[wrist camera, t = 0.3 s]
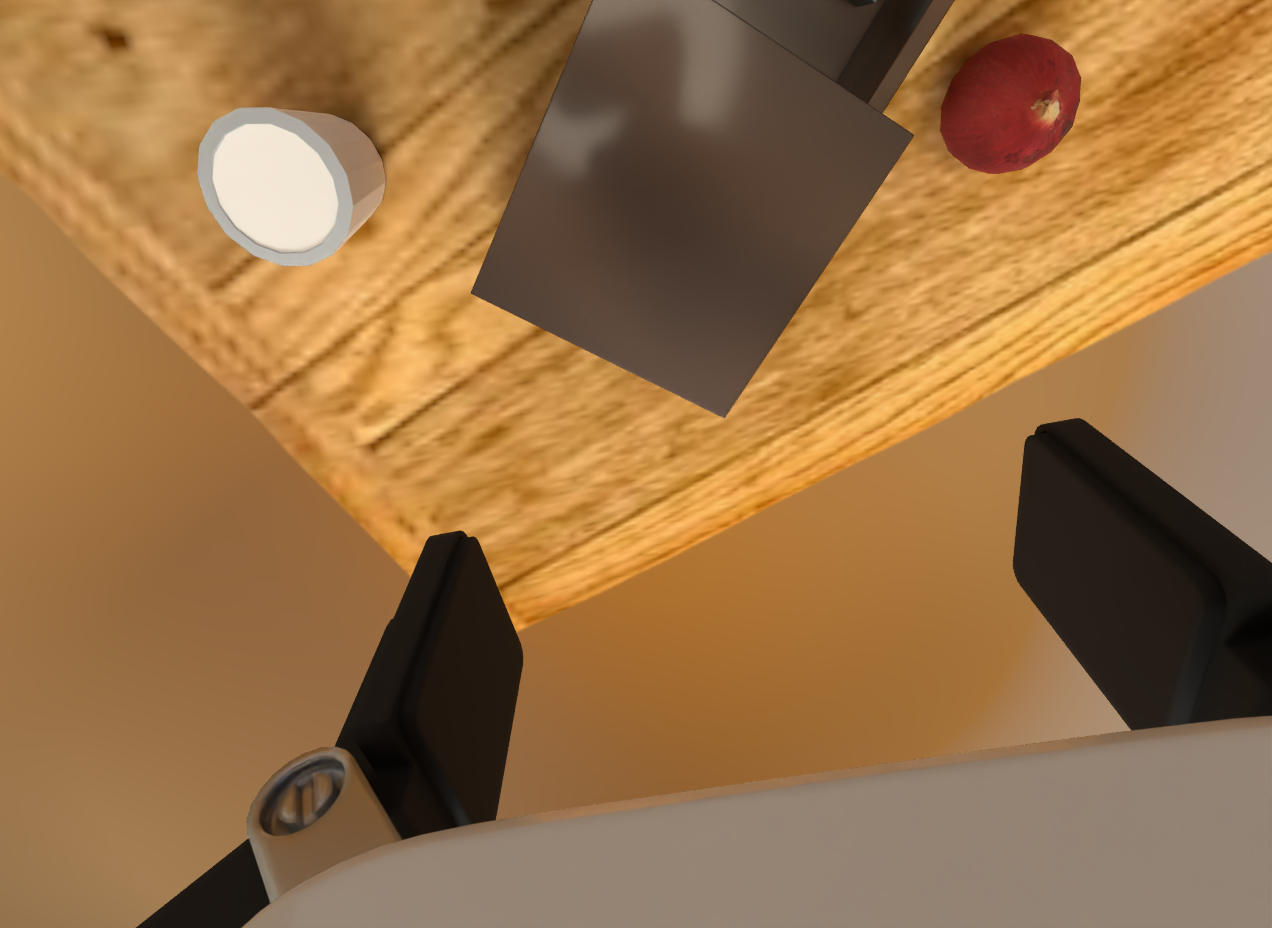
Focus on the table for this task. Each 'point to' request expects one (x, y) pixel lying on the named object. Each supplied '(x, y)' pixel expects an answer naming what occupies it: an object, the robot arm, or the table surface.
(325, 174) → the brown white round container
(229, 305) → the table surface
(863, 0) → the caddy
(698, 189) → the cabinet
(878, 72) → the drawer
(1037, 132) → the onion
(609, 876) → the robot arm
